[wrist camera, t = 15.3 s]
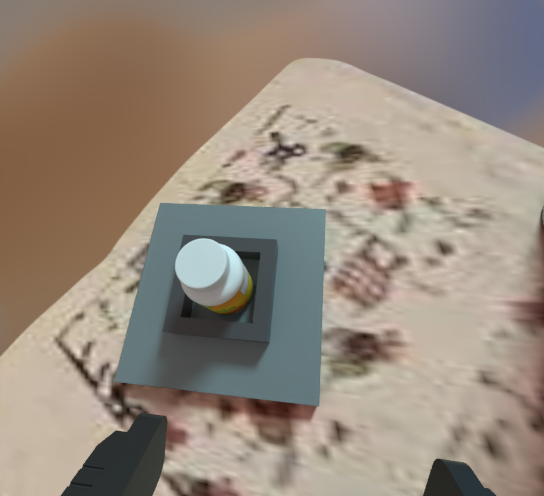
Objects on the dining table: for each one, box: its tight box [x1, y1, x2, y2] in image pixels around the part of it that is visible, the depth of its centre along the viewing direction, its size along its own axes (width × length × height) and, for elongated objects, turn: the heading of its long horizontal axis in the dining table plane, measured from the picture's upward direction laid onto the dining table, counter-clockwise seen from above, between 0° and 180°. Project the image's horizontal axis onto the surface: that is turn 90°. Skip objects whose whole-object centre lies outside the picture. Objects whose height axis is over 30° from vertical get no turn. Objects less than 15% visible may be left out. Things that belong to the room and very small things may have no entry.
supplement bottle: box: [175, 238, 254, 316], centre depth 26 cm, size 5×5×10 cm
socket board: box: [114, 203, 326, 406], centre depth 30 cm, size 20×20×4 cm
